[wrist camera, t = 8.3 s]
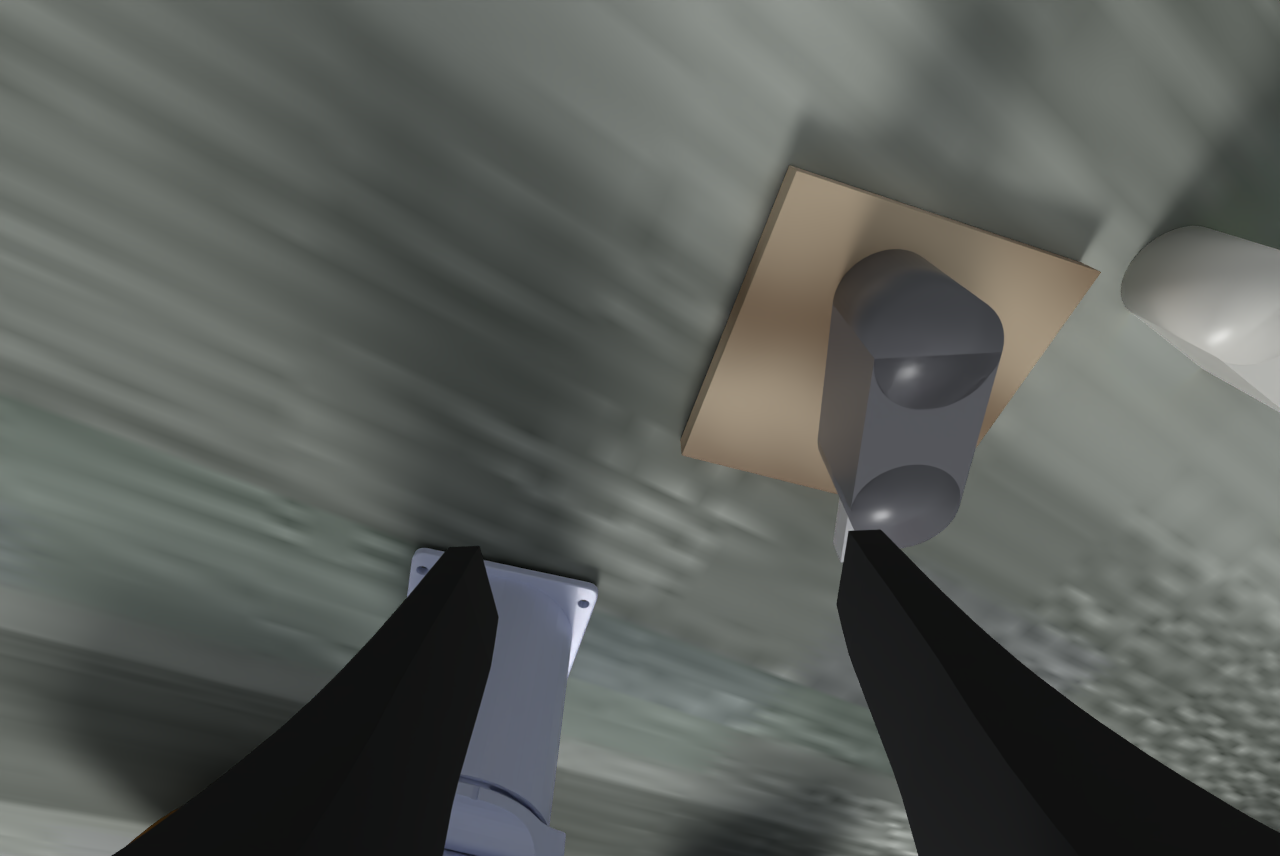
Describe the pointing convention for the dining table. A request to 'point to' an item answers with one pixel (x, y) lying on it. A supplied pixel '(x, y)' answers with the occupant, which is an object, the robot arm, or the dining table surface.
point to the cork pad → (802, 306)
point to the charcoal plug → (904, 395)
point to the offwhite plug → (1213, 304)
